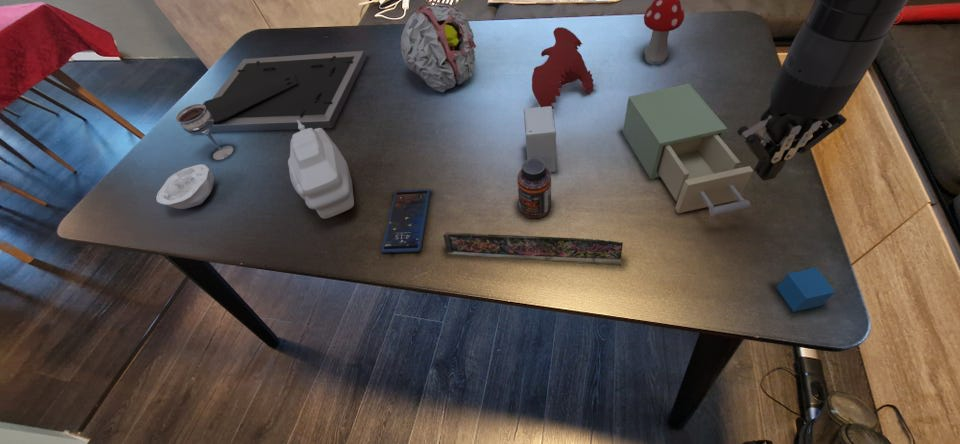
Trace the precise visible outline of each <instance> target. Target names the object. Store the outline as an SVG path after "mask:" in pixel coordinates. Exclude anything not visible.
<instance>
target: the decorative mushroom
mask: <svg viewBox="0 0 960 444" xmlns="http://www.w3.org/2000/svg"><path fill="white" fill-rule="evenodd" d="M684 20H685V11H684V8H683V7H682V4H681V1H680V0H653V2H652V3H651V5H650V6H648V8H647V9H646V11H645V12H644V15H643V24H644V25H645V26H646V27H647V28H648V29H650V30H652V33H651V37H650V40H649V43H648V45H647V47H646V48H645V50H644V60H645V62H647V64H649V65H653V66H658V65H662V64H663V63H664V62H665V61H666V59H667V57H668V55H669V49H668V42H669V41H668V39H669V33H670V32H671V31H674V30H675V31H676V29H678V28H680V26H682V24H683V22H684Z"/></svg>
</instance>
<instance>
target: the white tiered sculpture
mask: <svg viewBox="0 0 960 444" xmlns="http://www.w3.org/2000/svg"><path fill="white" fill-rule="evenodd" d="M297 122H298V129H297V130H299V131H297V132H295V133H293V134H292V135H291V139H290V143H289V144H290V147H289V149H290V150H289V158H288V159H287V166H288V172H289V179H290V182H291V184H292V187H293V188H294V190H295V192H296V193H297V194H298V195H299V196H300V198H301V199H302V200H303V201H304V203H305V205H306V206H307V208H309V209H310V210H314V211H316V213H317V214H318V216H319V217H320V218H321V219H323V220H325V219H330V218H332V217H335V216H337V215H339V214H342V213H344V212H346V211H349V210H351V209H352V208H353V207H354V206H355V199H354V187H353V180H352V177H351V173H350V169H349V165H348V163H347V161H346V158H345V157H344V156H343V154H342V153H341V151H340V149H339V148H338V146H337V145H336V143H334V142H333V140H332V138H330V136H329V135H328V133H327V131H325V130H324V129H322V128H317V129H312V128H308V129H305V126H304V125H302V124H301V123H300V121H298V120H297Z"/></svg>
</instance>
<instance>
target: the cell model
mask: <svg viewBox="0 0 960 444" xmlns="http://www.w3.org/2000/svg"><path fill="white" fill-rule="evenodd" d="M214 182H215V176H214V174H213V173H212V171H211V170H210V168H209V167H208V166H207V165H206V164H203V163H199V164H196V165H191V166H188V167H184V168H182V169H180V170H179V171H176V172H175V173H173V174H172V175H169V177H167V179H166V180H165V182H164V183H163V185H162V187H160V189H159V190H158V192H157V193H156V197H155V198H156V202H157V203H158V204H161V205H164V206H167V207H169V208H173V209H179V210H186V209H189V208H193V207H197V206H199V205H201V204H203V203H204V202H205V201H206V200H207V198H208V197H209V196H210V194H211V193H212V190H213V188H214V187H213V186H214Z"/></svg>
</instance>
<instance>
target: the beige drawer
mask: <svg viewBox="0 0 960 444" xmlns="http://www.w3.org/2000/svg"><path fill="white" fill-rule="evenodd" d="M740 164H741V160H739V158H737V156H736V155H735V153H734V152H733V151H732V150H731V149H730V147H729V146H728V145H727V144H726V142H725V141H724V139H723V140H722V139H721V138H720V137H719V135H718V134H714V135H709V136H705V137H700V138H696V139H691V140H687V141H682V142H678V143H673V144H669V145H664V146H663V149H662V152H661V156H660V160H659V164H658V167H657V172H658V173H659V175H660V176H661V177H660V178H661V180H662V181H663V183H664V185H665V186H666V188H667V189H668V191H669V193H670V194H671V196H672V198H673V199H674V200H675V202H676V204H675V207H674V210H675V211H676V212H677V214H681V213H685V212H690V211H694V210H699V209H703V208H708V213H709V215H710V216H711V217H715V216H720V215H725V214H730V213H734V212H738V211H739V212H740V211H743V210H747V209H750V208H751V202H750V201H749V200H748V199H744V197H743V196H742V194H743V192H744V190H745V188H746V186H747V184H748V183H749V181H750V179H751V177H752V175H753V173H754V169H753V168H752V167H751V165H748V166H743V167H740Z"/></svg>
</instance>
